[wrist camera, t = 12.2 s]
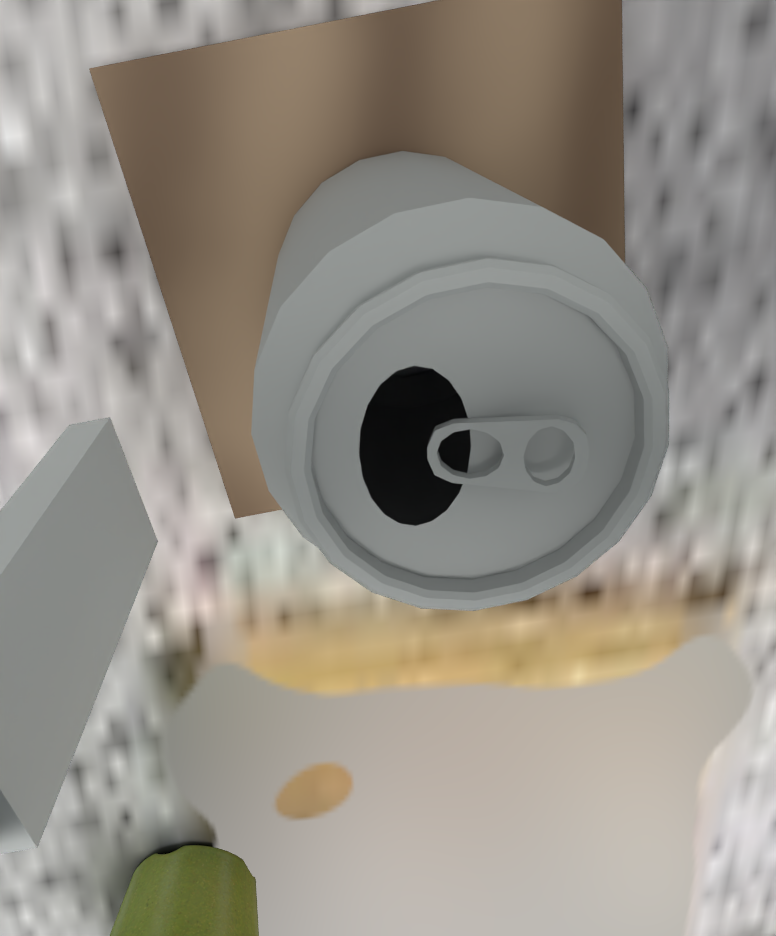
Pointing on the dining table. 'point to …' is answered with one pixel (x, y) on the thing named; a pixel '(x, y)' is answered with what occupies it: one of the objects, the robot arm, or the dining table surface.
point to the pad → (348, 154)
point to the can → (455, 386)
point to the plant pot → (190, 896)
